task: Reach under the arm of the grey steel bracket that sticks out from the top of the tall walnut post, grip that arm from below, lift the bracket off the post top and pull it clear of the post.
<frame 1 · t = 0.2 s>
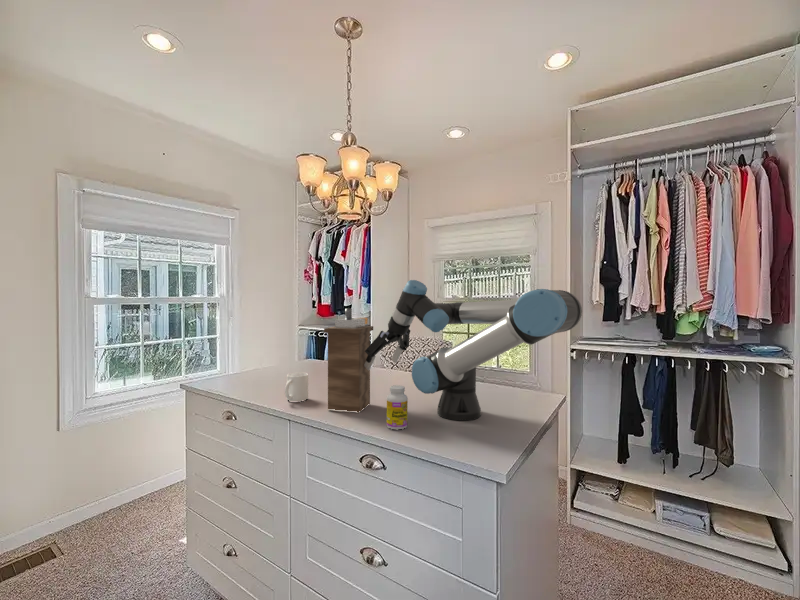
hand: (380, 364, 147), 15 cm above the countertop, tool tilted 35°, fingers open, 14 cm apart
post: (349, 407, 145), on the countertop
mug: (294, 401, 153), on the countertop
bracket: (349, 327, 144), point 30 cm above the countertop, touching post
supplement bottle: (397, 427, 123), on the countertop
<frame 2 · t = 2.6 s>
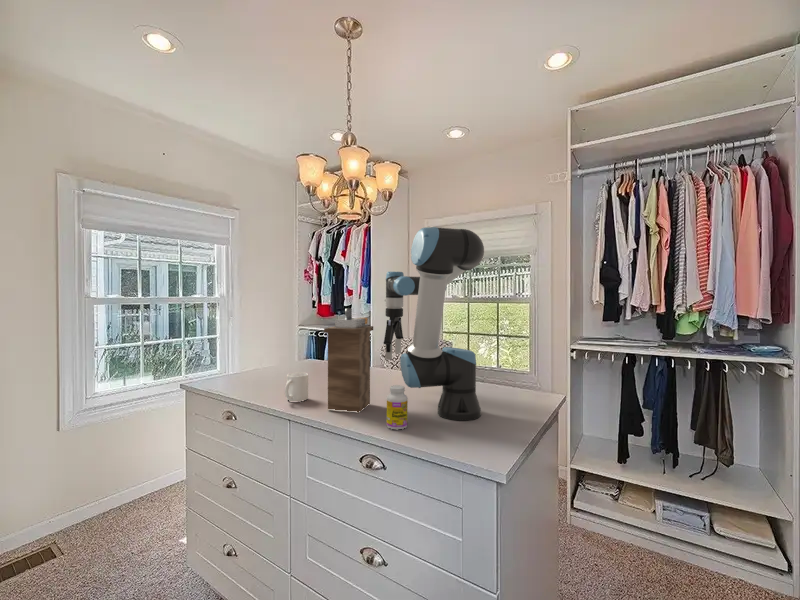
hand: (393, 356, 167), 15 cm above the countertop, tool pointing down, fingers open, 13 cm apart
nothing on the countertop moved.
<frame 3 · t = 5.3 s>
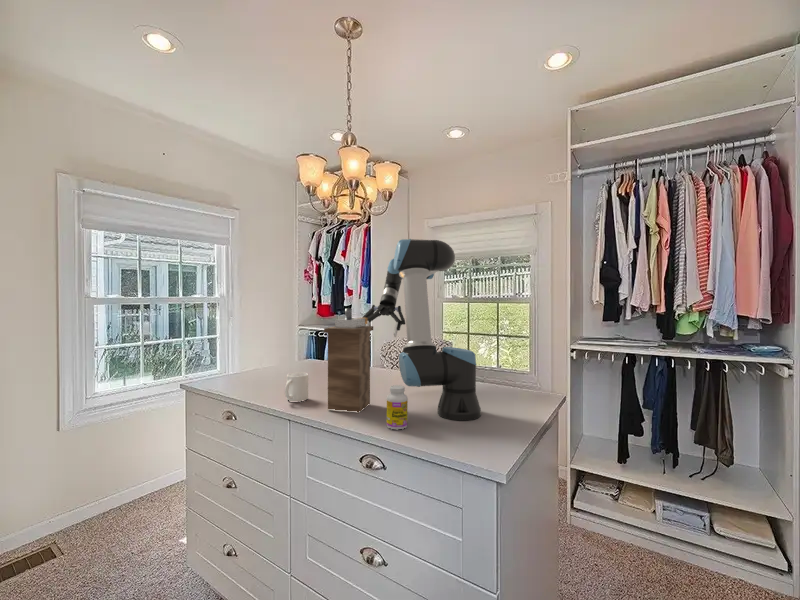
hand: (379, 334, 171), 25 cm above the countertop, tool tilted 45°, fingers open, 13 cm apart
nothing on the countertop moved.
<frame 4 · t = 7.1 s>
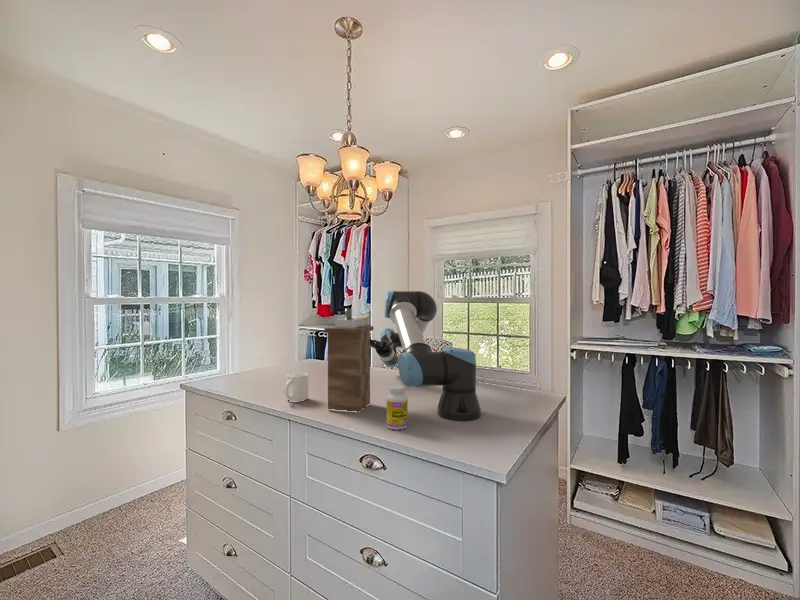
hand: (373, 332, 172), 25 cm above the countertop, tool pointing upward, fingers open, 13 cm apart
nothing on the countertop moved.
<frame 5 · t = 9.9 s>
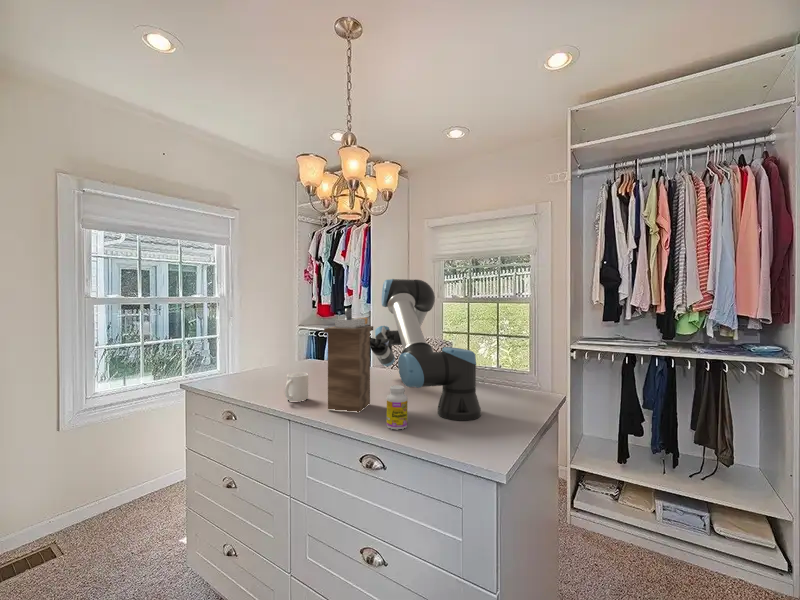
hand: (367, 329, 165), 28 cm above the countertop, tool pointing upward, fingers open, 13 cm apart
nothing on the countertop moved.
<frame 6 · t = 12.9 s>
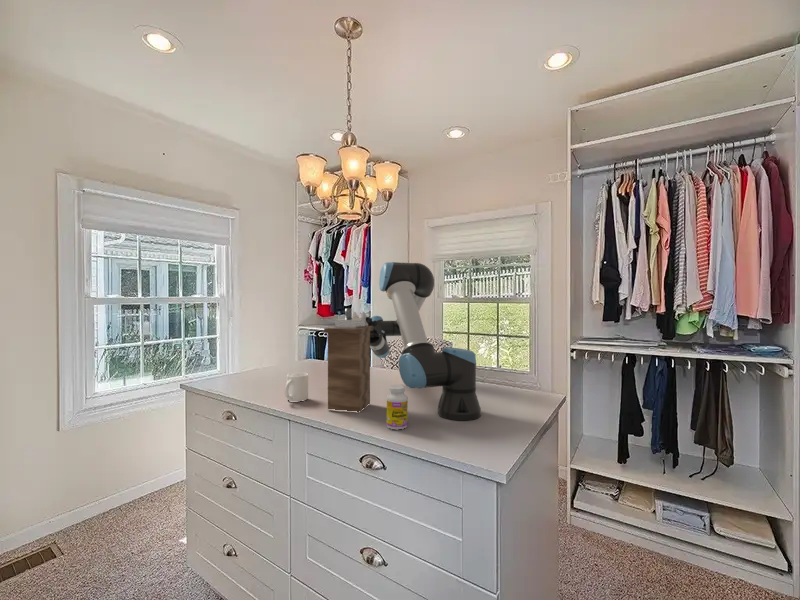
hand: (358, 314, 153), 34 cm above the countertop, tool pointing upward, fingers closed on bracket, 3 cm apart
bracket: (349, 327, 144), point 30 cm above the countertop, touching gripper, post
everything else where it was.
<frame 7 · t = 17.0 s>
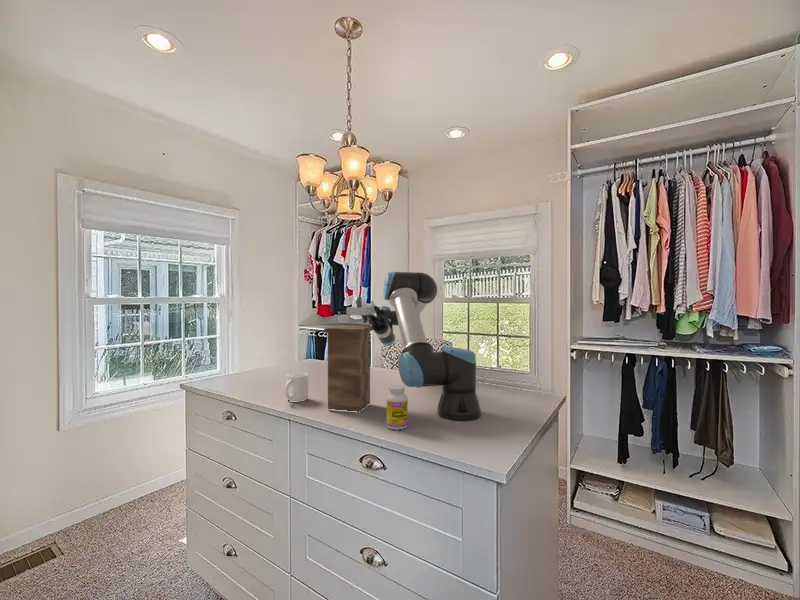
hand: (367, 303, 165), 38 cm above the countertop, tool pointing upward, fingers closed on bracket, 3 cm apart
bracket: (359, 314, 156), point 34 cm above the countertop, touching gripper
everything else where it was.
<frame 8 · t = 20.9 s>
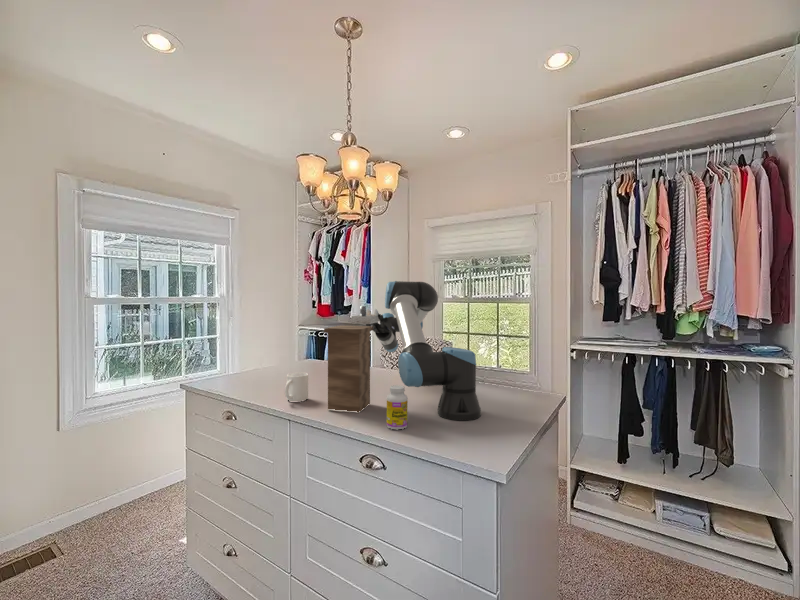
hand: (371, 312, 169), 35 cm above the countertop, tool pointing upward, fingers closed on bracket, 3 cm apart
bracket: (364, 323, 160), point 30 cm above the countertop, touching gripper
everything else where it was.
at the end: the gripper is holding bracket; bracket touching gripper; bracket moved 16.0 cm from its start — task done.
